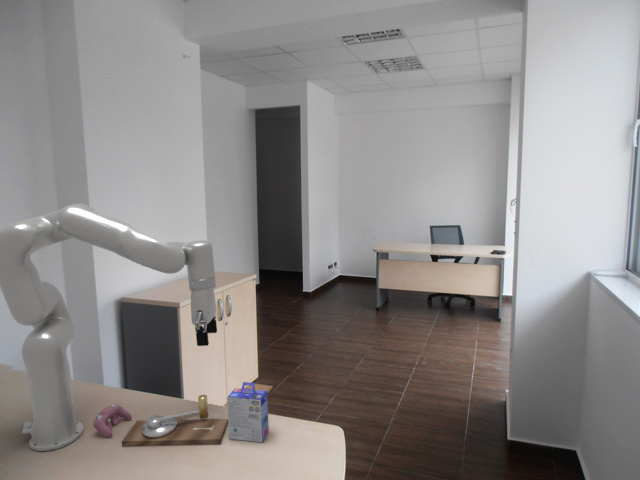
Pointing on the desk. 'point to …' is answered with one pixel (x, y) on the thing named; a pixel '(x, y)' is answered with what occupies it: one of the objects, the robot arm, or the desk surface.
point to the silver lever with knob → (172, 420)
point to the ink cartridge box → (248, 414)
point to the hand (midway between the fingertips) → (207, 338)
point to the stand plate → (181, 434)
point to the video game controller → (112, 414)
